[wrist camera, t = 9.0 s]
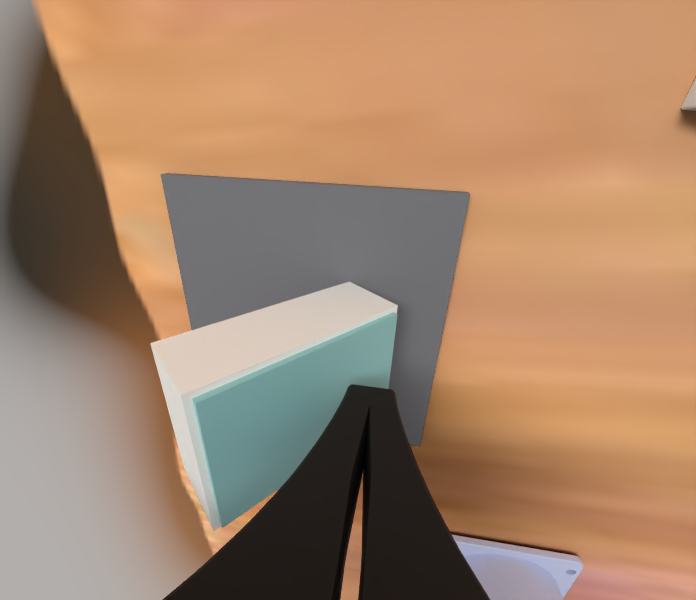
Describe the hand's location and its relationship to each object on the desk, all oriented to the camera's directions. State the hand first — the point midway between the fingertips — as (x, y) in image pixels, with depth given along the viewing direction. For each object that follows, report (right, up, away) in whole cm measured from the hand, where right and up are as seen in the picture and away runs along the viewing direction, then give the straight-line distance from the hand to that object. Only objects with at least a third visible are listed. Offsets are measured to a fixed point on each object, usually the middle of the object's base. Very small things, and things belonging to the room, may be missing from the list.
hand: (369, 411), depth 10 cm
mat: (-2, +2, +4) cm, 5 cm away
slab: (0, +1, +3) cm, 3 cm away
